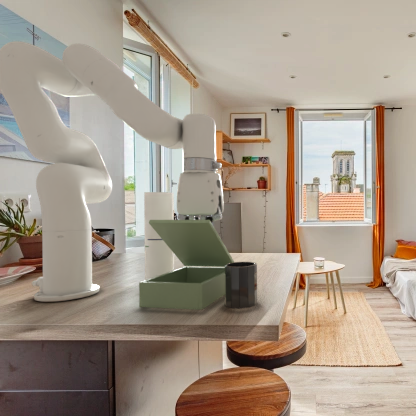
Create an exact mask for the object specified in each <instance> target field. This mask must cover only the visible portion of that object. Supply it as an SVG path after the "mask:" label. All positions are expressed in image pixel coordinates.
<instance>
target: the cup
mask: <svg viewBox="0 0 416 416" xmlns="http://www.w3.org/2000/svg"><path fill="white" fill-rule="evenodd" d="M257 304H258V263H256V262H254V261H253V262H252V261H234V262H233V263H228V264H226V265H225V295H224V305H225V307H226V308H229V309H237V310H238V309H248V308H251V307H255V306H256V305H257Z"/></svg>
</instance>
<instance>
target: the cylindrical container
mask: <svg viewBox="0 0 416 416" xmlns="http://www.w3.org/2000/svg"><path fill="white" fill-rule="evenodd" d="M143 195H144V196H143V197H144V199H143V201H144V208H143V209H144V211H143V213H144V215H143V216H144V217H143V218H144V281H145V280H148V279H150V278H153V277H156V276H159V275H162V274H165V273H168V272H171V271H174V270H175V254H174V253H173V252H172V250H171V249H170V248H169V247H168V246H167V244H166V243H165V242H164V241H163V240H162V238H161V237H160V236H159V235H158V234H157V232H156V231H155V230H154V229H153V227H152V226H151V225H150V224H149V221H150V220H175V219H174V218H175V217H174V215H175V213H174V212H175V211H174V210H175V209H174V207H175V206H174V203H175V202H174V201H175V200H174V198H175V197H174V192H168V191H145V192H144V194H143Z"/></svg>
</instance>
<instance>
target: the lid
mask: <svg viewBox="0 0 416 416" xmlns="http://www.w3.org/2000/svg"><path fill="white" fill-rule="evenodd" d="M149 224H150V225H151V226H152V227H153V229H154V230H155V231H156V232H157V234H158V235H159V236H160V237H161V238H162V240H163V241H164V242H165V243H166V244H167V246H168V247H169V248H170V249H171V250H172V252H173V253H174V256H175V257H176V258H177V259H178V260H179V261H180V262H181V264H182V265H183V267H225V265H226V264H228V263H233V262H235V261H234V259H233V257H232V255H231V254H230V252H229V249H228V248H227V247H226V245H225V243H224V242H223V239H222V238H221V237H220V235H219V233H218V231H217V230H216V228H215V226H214V225H213V222H212V223H211V221H210V220H201V219H200V220H179V219H174V220H150V221H149Z"/></svg>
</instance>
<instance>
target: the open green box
mask: <svg viewBox="0 0 416 416" xmlns="http://www.w3.org/2000/svg"><path fill="white" fill-rule="evenodd" d="M138 293H139V295H138V297H139V298H138V302H139V303H138V304H139V305H138V306H139V308H151V309H173V310H175V309H176V310H198V311H199V310H202V311H203V310H205V308H207V307H209V306H211V305H212V304H214V303H215V302H216V301H218V300H220V299H221V298H222V297H225V267H208V266H182V267H180V268H177V269H174V271H171V272H168V273H165V274H162V275H159V276H156V277H153V278H150V279H148V280H145V279H144V280H142V281H139V282H138Z"/></svg>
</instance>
